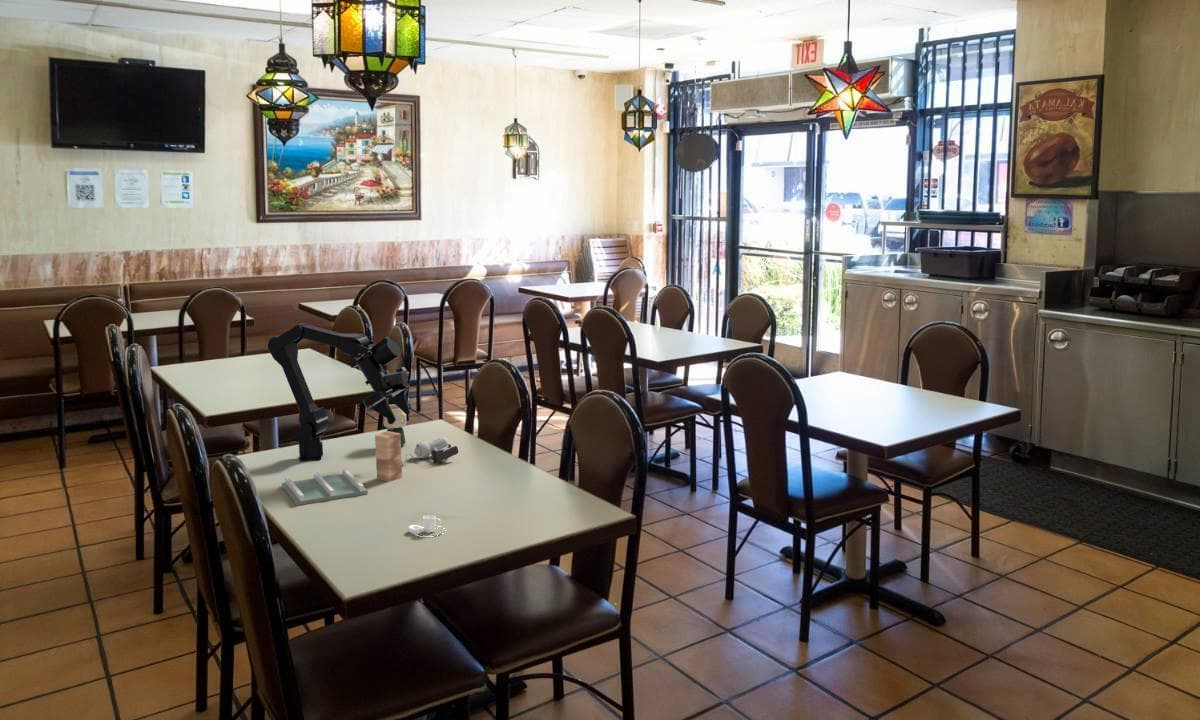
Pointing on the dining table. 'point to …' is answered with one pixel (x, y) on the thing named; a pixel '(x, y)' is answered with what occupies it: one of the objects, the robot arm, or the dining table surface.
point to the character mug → (396, 422)
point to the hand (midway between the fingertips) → (401, 417)
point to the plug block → (388, 456)
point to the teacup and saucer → (425, 526)
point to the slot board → (323, 488)
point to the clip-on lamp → (435, 450)
